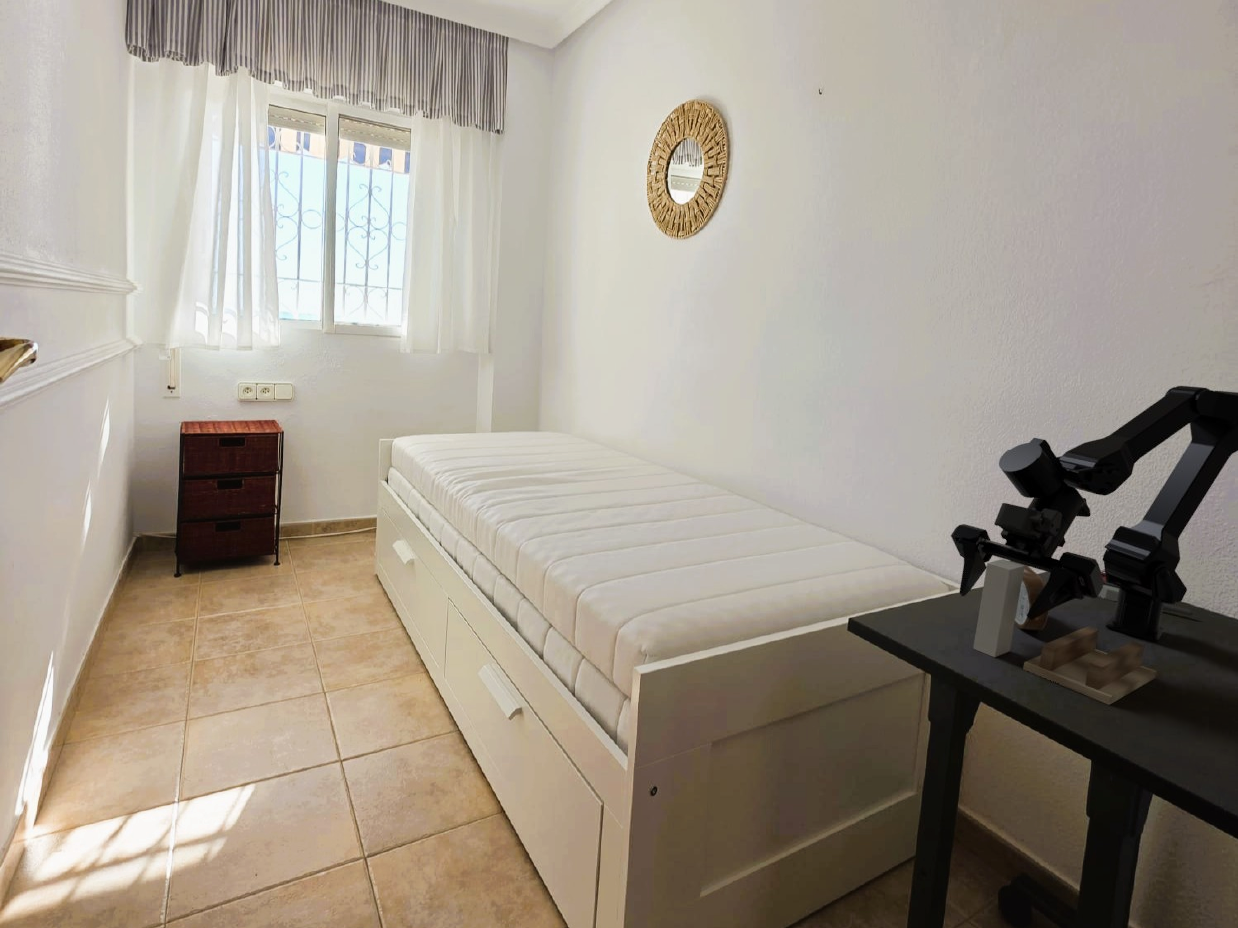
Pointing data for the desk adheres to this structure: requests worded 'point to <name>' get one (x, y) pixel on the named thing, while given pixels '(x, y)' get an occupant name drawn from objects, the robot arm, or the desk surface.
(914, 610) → the desk surface
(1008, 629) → the clay bar
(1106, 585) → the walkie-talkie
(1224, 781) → the desk surface
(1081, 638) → the rack
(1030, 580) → the tin
